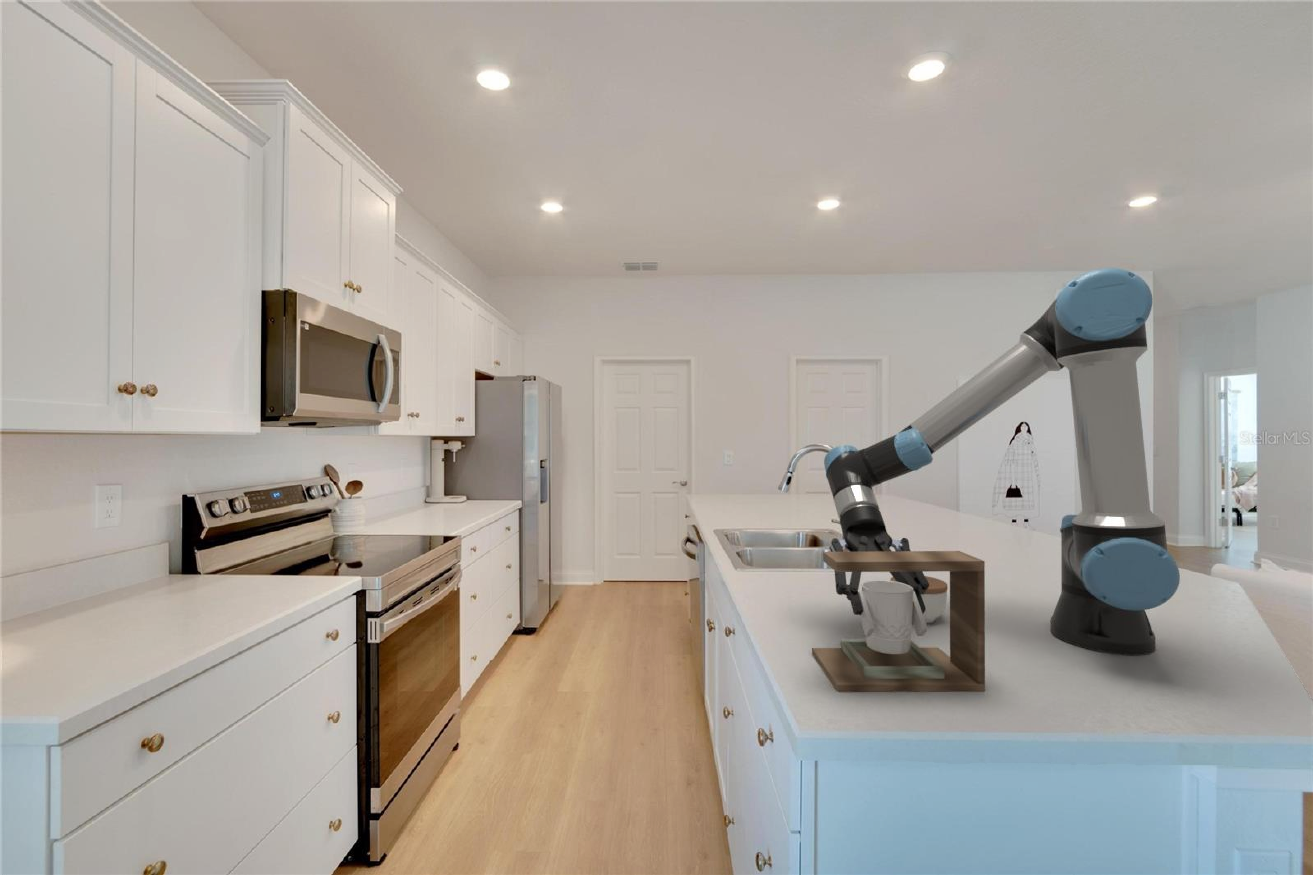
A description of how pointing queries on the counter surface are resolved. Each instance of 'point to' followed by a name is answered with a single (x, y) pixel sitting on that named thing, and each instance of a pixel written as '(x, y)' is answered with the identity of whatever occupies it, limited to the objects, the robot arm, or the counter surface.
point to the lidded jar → (933, 598)
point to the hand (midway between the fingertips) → (896, 632)
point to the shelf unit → (919, 665)
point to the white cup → (889, 615)
